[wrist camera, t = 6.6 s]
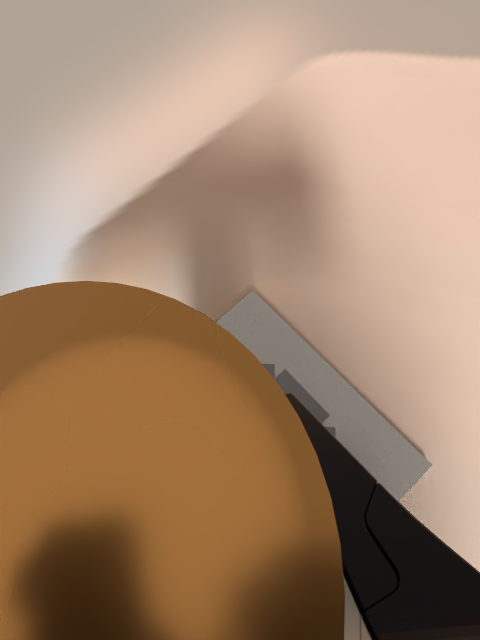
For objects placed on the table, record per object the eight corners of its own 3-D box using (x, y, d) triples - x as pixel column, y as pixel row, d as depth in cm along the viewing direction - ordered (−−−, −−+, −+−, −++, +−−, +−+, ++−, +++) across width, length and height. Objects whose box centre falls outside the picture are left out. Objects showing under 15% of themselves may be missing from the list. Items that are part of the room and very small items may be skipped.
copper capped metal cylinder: (231, 546, 14) (-146, 1394, 2) (163, 456, 15) (-325, 525, 3) (311, 465, 14) (497, 611, 2) (239, 385, 16) (104, 196, 4)
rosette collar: (236, 670, 17) (226, 726, 14) (82, 442, 21) (46, 443, 18) (428, 464, 19) (459, 469, 16) (253, 292, 23) (249, 268, 20)
